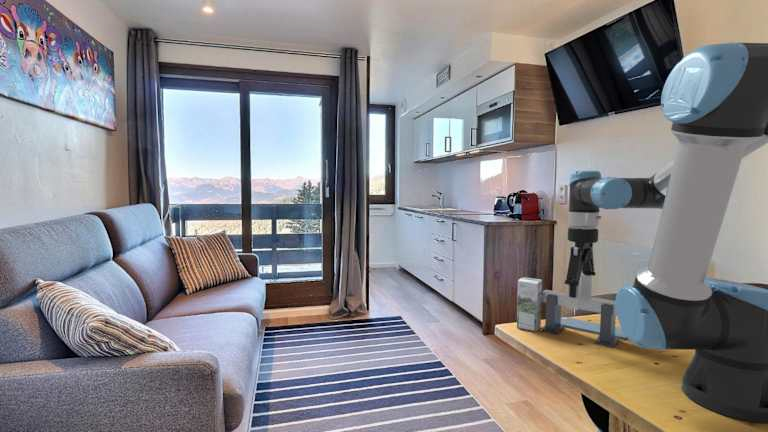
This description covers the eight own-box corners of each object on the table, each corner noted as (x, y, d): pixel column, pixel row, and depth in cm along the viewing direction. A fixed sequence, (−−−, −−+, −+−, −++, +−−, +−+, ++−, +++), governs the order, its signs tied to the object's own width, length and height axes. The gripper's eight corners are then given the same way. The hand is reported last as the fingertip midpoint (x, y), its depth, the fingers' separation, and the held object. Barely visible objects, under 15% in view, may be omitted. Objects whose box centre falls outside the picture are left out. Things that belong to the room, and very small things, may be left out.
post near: (613, 347, 102) (615, 308, 101) (595, 343, 105) (596, 305, 104) (618, 339, 107) (620, 302, 106) (600, 335, 110) (602, 299, 109)
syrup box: (541, 326, 117) (542, 278, 116) (536, 332, 112) (537, 282, 111) (521, 323, 120) (522, 276, 119) (515, 328, 116) (517, 280, 115)
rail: (620, 316, 102) (620, 305, 102) (541, 302, 115) (541, 291, 115) (622, 313, 105) (623, 302, 105) (545, 299, 118) (545, 289, 117)
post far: (557, 334, 111) (558, 298, 110) (541, 331, 114) (542, 295, 113) (564, 328, 116) (565, 293, 115) (548, 324, 119) (550, 290, 118)
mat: (625, 339, 107) (625, 337, 107) (545, 322, 121) (545, 321, 121) (629, 331, 113) (629, 329, 113) (553, 316, 127) (553, 314, 127)
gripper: (586, 232, 96) (582, 317, 98) (607, 224, 115) (604, 295, 117) (554, 230, 101) (551, 311, 103) (580, 222, 120) (576, 290, 122)
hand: (579, 302), depth 110 cm, fingers open, 13 cm apart
